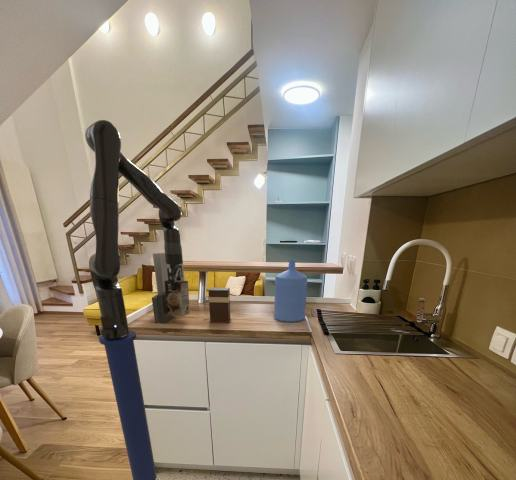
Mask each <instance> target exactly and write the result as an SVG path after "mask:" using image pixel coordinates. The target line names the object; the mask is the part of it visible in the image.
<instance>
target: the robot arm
mask: <svg viewBox="0 0 516 480" xmlns="http://www.w3.org/2000/svg"><path fill="white" fill-rule="evenodd" d="M84 134H85V135H84V138H85V142H86V145H87V146H88V147H89V148H90V150H91V151H92V152H93V153H94V158H95V159H94V160H95V161H94V162H95V163H94V164H95V165H94V171H93V176H92V179H91V184H90V190H89V211H90V212H89V213H90V219H91V222H92V226H93V230H94V235H95V253H93V254H92V255H91V256H90V257H89V260H88V268H89V273H90V278H91V282H92V287H93V288H94V291H95V293H96V299H97V302H98V308H99V312H100V317H99V318H100V322H101V323H100V324H101V327H102V329H101V335H102V336H103V337H105V339H107V340H109V339H121V338H124V337H127V336H129V335H130V332H129V330H130V327H129V323H128V316H127V311H126V306H125V300H124V299H125V298H124V293H123V288H122V287H121V285H120V283H119V280H118V275H119V273H120V271H121V260H120V258H121V257H120V251H119V250H120V249H119V230H120V227H119V225H120V224H119V223H120V222H119V221H120V181H119V176H120V175H121V176H122V177H123V178H124V179H125V180H126V181H127V182H129V184H130V185H132V187H133V188H134V189H136V191H138V193H139V194H140V195H141V196H142V198H144V199H145V200H146V201H147V202H148V203H149V204H150V205H151V206H154V207H157V208H158V219H159V223H160V226H161V230H162V233H163V241H164V243H163V244H164V245H163V249H164V253H165V260H166V264H170V268H167V273H168V282H170V283H171V290H172V291H176V290H177V289H176V280H182V278H183V275H182V265H179V264H182V263H183V264H184V260H183V248H182V241H181V233H180V232H181V231H180V229H179V228H177V227H176V224H175V222H178V221H180V219H181V218H182V209H181V207H180V206H179V204H178V203H177V202H176V201H174V199H173V198H171V197H170V196H169V195H167V194H166V193H165V192H163V191H162V189H161V188H160V187H159V186H158V185H157V184H156V183H155V181H154V180H153V179H152V178H151V177H150V176H149V175H148V174H147V173H146V172H144V171H143V170H141V169H140V168H139V167H138V166H136V165H135V164H134V163H132V162H131V161H130V160H129V159H128V158H127V157H126V156H125V155H124V154H123V153H122V152H121V150H122V139H121V135H120V133H119V130H118V129H117V127H116V126H115V124H113V123H112V122H111V121H110V120H107V119H100V120H96V121H94V122H93V123H91V124H90V125H89V126H88V127H87V128H86V130H85V133H84ZM119 174H120V175H119Z"/></svg>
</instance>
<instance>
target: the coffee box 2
mask: <svg viewBox="0 0 516 480" xmlns="http://www.w3.org/2000/svg"><path fill="white" fill-rule="evenodd" d="M207 291H208V308H209V322H210V323H220V324H221V323H222V324H228V323H230V321H231V292H230V287H210V288H209V289H208V290H207Z"/></svg>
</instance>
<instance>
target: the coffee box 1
mask: <svg viewBox="0 0 516 480" xmlns="http://www.w3.org/2000/svg"><path fill="white" fill-rule="evenodd" d="M164 283H165V293H166V303H167V314H169V315H173V316H176V317H185V316H188V315H190V314H191V311H190V294H189V293H190V291H189V281H188V280H184V281H183V280H176V289H177V290H176V291H172V290H171V283H170V282H168V280H166V281H164Z"/></svg>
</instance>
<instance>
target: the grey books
mask: <svg viewBox="0 0 516 480" xmlns="http://www.w3.org/2000/svg"><path fill="white" fill-rule="evenodd" d="M151 302H152V311H153V317H154V319H153V320H154V323H155V324H159V323H160V324H166V323H167V322H168V321H169V320H170V319H171V318H173V316H174V315H169V314H167V303H166V293H165V291H164V292H163V293H159V294H158V293H157V294H156V295H154V296H152V297H151Z"/></svg>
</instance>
